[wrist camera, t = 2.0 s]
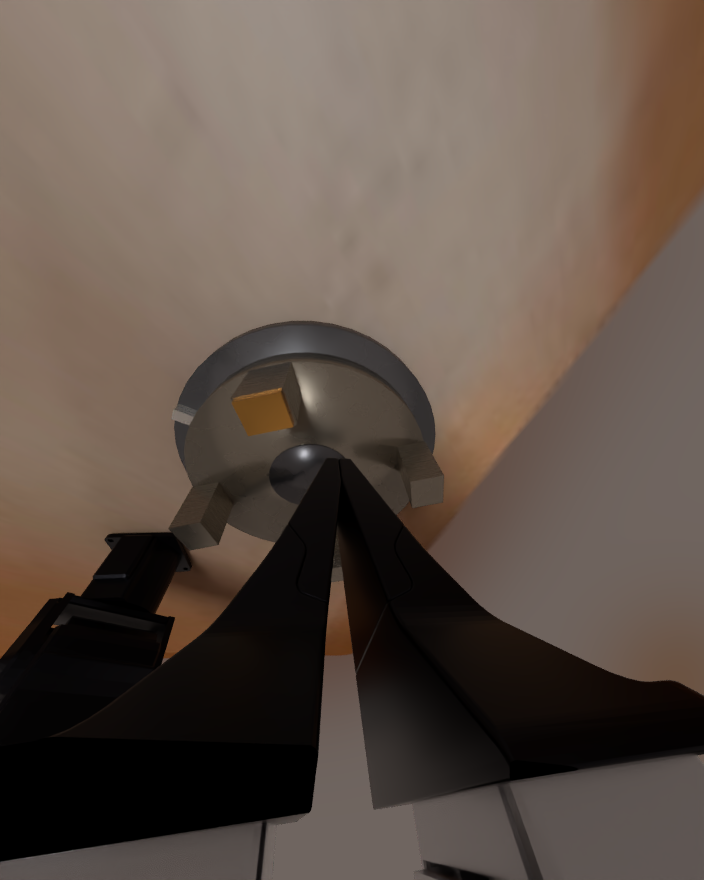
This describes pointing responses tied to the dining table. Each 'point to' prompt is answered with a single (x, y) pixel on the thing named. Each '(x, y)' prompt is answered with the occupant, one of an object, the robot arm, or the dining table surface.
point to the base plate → (295, 341)
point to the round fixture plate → (297, 446)
